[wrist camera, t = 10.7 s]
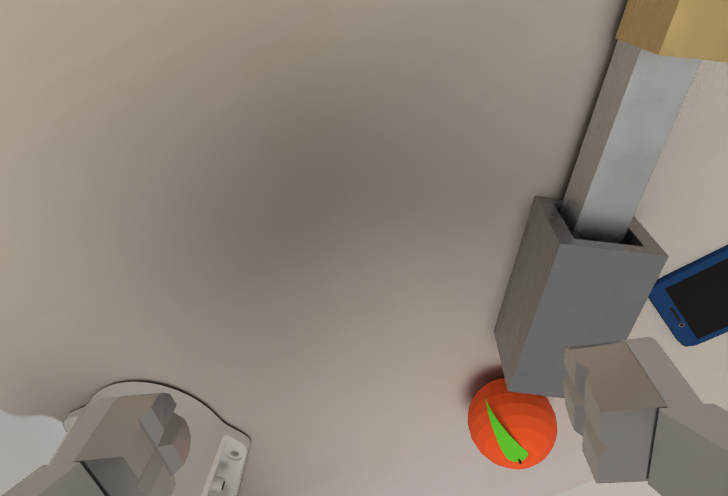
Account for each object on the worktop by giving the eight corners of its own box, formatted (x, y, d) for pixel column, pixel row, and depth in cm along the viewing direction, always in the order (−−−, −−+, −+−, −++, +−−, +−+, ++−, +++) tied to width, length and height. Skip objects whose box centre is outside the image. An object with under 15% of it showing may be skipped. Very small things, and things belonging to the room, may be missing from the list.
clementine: (442, 372, 41) (447, 444, 35) (515, 340, 38) (535, 411, 32) (488, 425, 44) (501, 499, 38) (559, 398, 41) (584, 473, 35)
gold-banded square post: (600, 235, 32) (631, 281, 27) (549, 230, 32) (572, 274, 27) (743, -118, 22) (831, -139, 17) (669, -126, 22) (737, -147, 17)
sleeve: (568, 340, 38) (594, 401, 33) (494, 331, 38) (507, 391, 33) (625, 206, 32) (668, 256, 26) (535, 196, 32) (560, 243, 26)
